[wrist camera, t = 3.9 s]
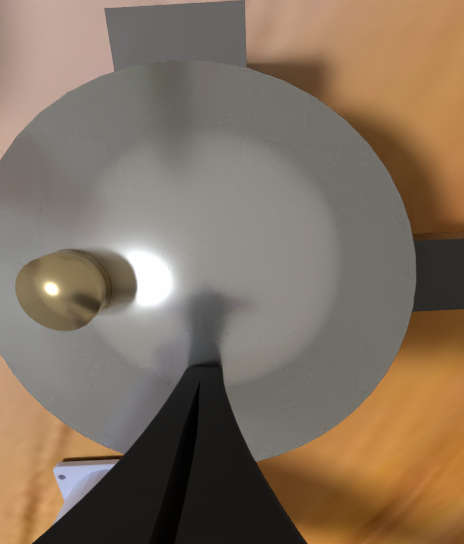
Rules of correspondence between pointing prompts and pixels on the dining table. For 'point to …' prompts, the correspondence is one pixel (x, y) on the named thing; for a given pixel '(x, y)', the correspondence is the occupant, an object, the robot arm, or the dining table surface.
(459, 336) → the dining table surface
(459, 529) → the dining table surface
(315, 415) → the cooker lid
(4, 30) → the dining table surface
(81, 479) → the robot arm
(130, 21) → the cooker pot
